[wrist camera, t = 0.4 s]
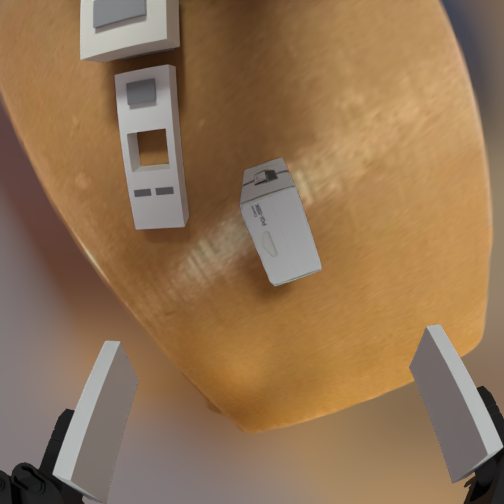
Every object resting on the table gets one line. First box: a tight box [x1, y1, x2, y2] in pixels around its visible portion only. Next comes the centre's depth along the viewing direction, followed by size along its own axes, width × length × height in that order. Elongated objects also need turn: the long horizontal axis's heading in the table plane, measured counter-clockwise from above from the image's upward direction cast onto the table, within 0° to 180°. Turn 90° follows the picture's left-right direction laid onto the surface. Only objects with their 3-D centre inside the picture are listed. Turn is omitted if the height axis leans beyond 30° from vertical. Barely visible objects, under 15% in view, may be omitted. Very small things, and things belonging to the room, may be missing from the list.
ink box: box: [239, 158, 322, 287], centre depth 31 cm, size 9×5×12 cm, turn 21°
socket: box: [115, 64, 189, 230], centre depth 31 cm, size 18×6×4 cm, turn 2°
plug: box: [80, 0, 180, 63], centre depth 21 cm, size 8×8×8 cm
